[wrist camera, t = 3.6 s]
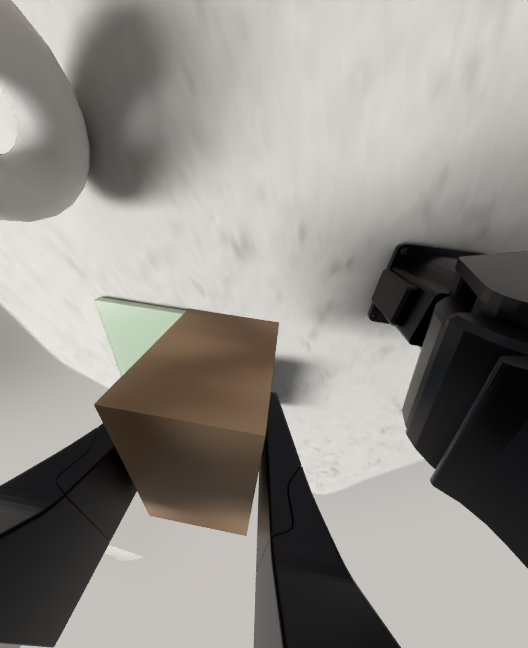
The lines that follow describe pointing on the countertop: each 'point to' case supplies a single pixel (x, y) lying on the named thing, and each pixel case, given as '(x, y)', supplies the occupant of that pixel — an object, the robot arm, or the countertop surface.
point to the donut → (38, 126)
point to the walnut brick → (196, 418)
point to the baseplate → (133, 327)
